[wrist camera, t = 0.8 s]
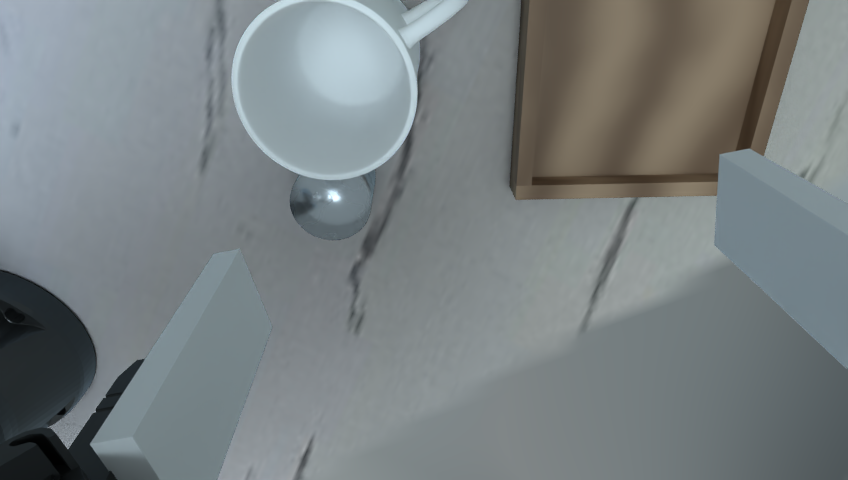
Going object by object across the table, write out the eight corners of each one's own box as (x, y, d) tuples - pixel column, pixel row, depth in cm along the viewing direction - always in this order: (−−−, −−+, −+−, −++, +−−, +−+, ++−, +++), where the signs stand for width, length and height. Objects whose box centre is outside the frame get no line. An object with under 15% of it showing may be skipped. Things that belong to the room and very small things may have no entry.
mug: (432, -79, 31) (442, -98, 20) (488, 61, 34) (522, 109, 24) (257, 16, 33) (183, 44, 22) (327, 138, 37) (292, 213, 26)
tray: (509, 185, 38) (515, 199, 36) (526, -74, 31) (535, -77, 29) (732, 181, 38) (752, 194, 36) (803, -79, 31) (832, -81, 29)
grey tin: (308, 208, 39) (295, 240, 35) (300, 141, 37) (284, 167, 32) (377, 207, 39) (373, 239, 35) (373, 140, 37) (368, 165, 32)
